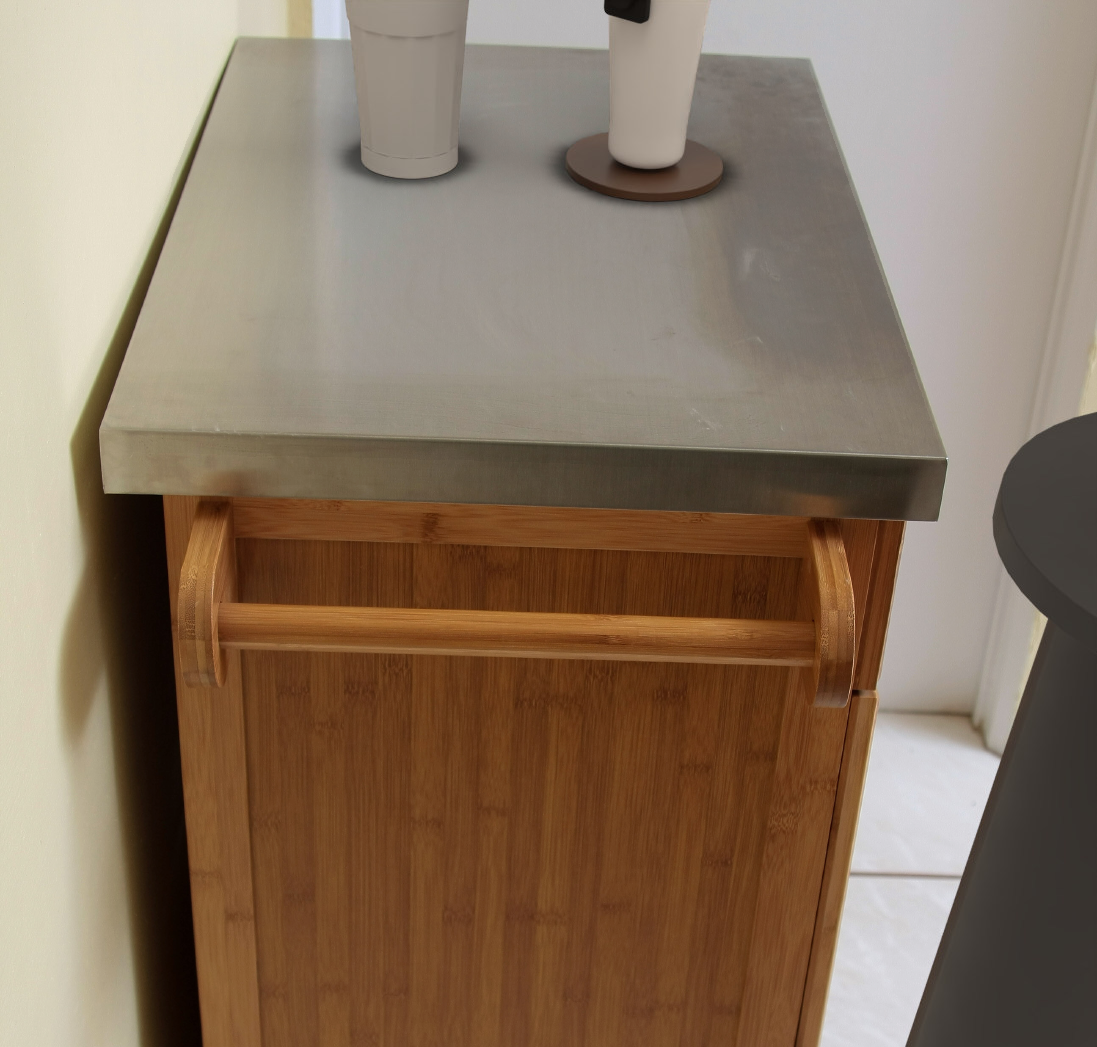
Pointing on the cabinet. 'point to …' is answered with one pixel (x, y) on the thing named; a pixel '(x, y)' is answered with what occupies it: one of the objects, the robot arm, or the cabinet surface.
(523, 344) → the cabinet surface
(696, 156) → the coaster
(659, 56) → the white tumbler
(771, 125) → the cabinet surface
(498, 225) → the cabinet surface
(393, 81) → the cup
